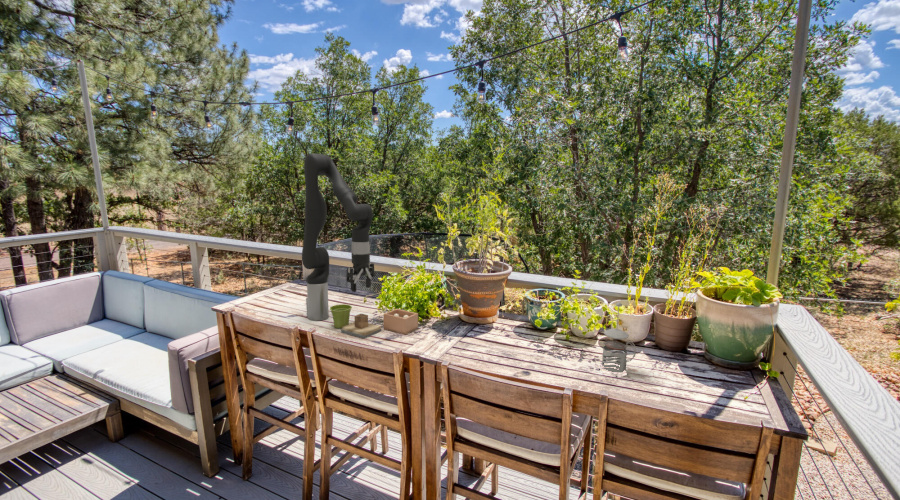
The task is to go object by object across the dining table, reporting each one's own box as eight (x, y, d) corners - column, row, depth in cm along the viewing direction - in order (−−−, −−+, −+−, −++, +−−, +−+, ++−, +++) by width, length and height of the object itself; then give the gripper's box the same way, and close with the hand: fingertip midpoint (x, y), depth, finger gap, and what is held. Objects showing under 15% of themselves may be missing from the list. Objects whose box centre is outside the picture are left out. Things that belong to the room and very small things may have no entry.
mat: (341, 332, 179) (341, 330, 179) (359, 325, 188) (359, 322, 188) (363, 338, 172) (363, 336, 172) (381, 330, 181) (381, 328, 181)
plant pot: (339, 331, 180) (339, 312, 178) (326, 326, 185) (325, 307, 184) (356, 325, 187) (356, 307, 186) (343, 321, 193) (342, 303, 191)
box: (383, 329, 183) (383, 313, 182) (396, 323, 191) (396, 308, 190) (405, 334, 177) (405, 319, 176) (417, 328, 185) (417, 313, 184)
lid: (342, 329, 179) (341, 315, 178) (358, 323, 187) (358, 309, 186) (364, 336, 172) (364, 321, 171) (380, 328, 181) (380, 315, 180)
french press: (604, 362, 154) (609, 296, 150) (637, 372, 147) (644, 303, 142) (594, 371, 146) (599, 302, 142) (628, 382, 139) (635, 309, 135)
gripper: (365, 248, 183) (366, 284, 186) (341, 253, 171) (342, 291, 174) (378, 250, 179) (379, 287, 182) (355, 255, 167) (355, 294, 170)
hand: (361, 289), depth 178 cm, fingers open, 8 cm apart
